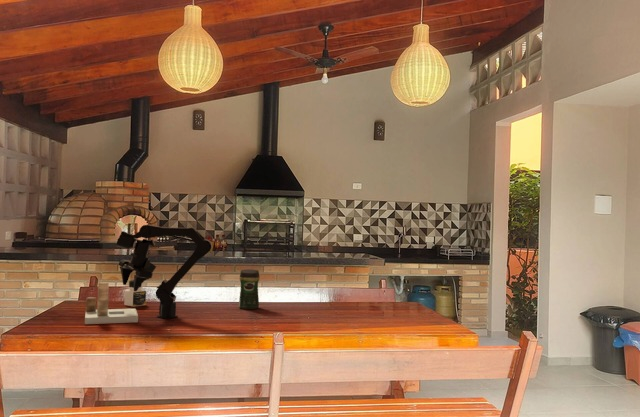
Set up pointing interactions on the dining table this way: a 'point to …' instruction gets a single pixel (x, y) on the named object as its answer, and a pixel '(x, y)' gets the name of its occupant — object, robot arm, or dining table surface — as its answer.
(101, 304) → the tall beech peg
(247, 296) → the coffee jar
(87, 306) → the short walnut peg
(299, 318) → the dining table surface
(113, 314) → the hole board
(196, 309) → the dining table surface
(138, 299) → the medicine bottle
